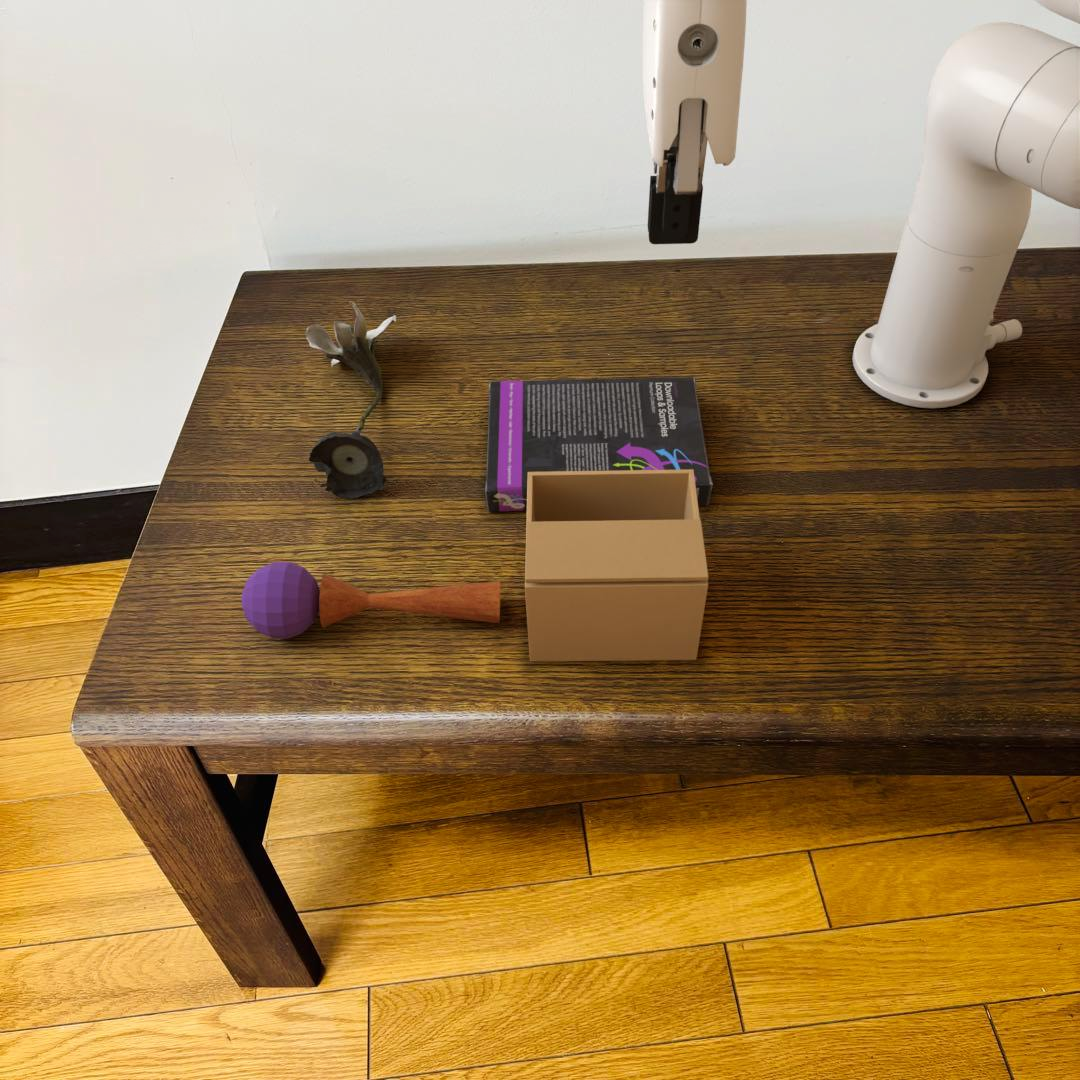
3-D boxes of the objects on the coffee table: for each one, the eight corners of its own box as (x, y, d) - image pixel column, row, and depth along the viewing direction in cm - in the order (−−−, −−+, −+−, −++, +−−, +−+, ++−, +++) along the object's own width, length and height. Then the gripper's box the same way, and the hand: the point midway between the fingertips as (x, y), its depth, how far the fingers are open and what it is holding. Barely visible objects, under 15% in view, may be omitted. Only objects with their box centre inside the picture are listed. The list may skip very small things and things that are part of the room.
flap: (700, 522, 73) (700, 518, 73) (708, 580, 69) (708, 577, 69) (526, 525, 73) (526, 521, 73) (525, 582, 70) (525, 579, 69)
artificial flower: (304, 511, 90) (251, 424, 83) (354, 372, 106) (312, 290, 100) (395, 492, 87) (348, 401, 81) (431, 353, 104) (394, 268, 98)
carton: (684, 547, 84) (693, 469, 77) (696, 660, 77) (708, 585, 69) (532, 549, 84) (527, 471, 77) (530, 661, 77) (524, 587, 70)
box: (486, 516, 87) (710, 509, 87) (483, 489, 85) (713, 482, 84) (492, 407, 96) (695, 400, 96) (488, 380, 94) (697, 372, 93)
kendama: (500, 620, 75) (229, 618, 74) (498, 652, 80) (245, 650, 79) (500, 550, 78) (240, 547, 77) (499, 585, 83) (255, 583, 82)
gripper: (790, -16, 47) (742, 304, 61) (750, -121, 57) (716, 176, 71) (631, -12, 47) (620, 307, 61) (618, -117, 57) (611, 179, 71)
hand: (672, 236), depth 66 cm, fingers closed
